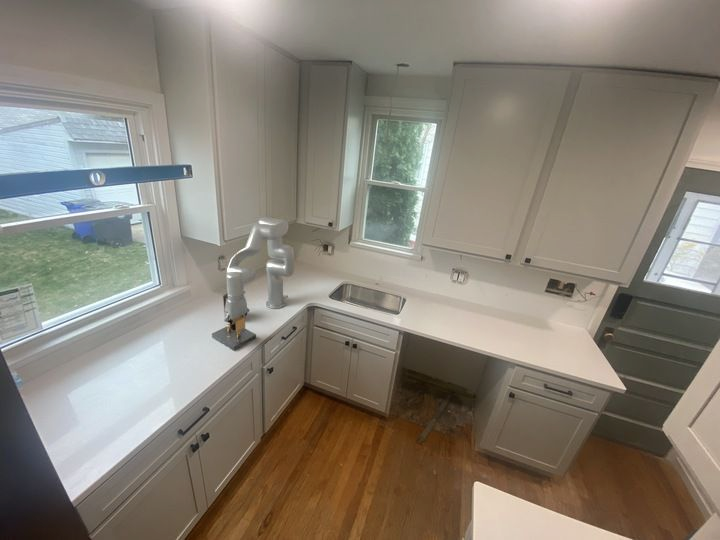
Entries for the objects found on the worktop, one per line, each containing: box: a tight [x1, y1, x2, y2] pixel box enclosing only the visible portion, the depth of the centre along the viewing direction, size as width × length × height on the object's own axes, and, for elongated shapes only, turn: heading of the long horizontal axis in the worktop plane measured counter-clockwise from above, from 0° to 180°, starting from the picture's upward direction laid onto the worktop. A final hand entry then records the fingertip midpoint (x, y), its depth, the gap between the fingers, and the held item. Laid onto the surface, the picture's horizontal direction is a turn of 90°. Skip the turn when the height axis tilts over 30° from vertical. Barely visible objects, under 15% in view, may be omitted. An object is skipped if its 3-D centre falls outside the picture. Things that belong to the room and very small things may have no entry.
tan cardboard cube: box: [234, 316, 246, 331], centre depth 151 cm, size 5×5×6 cm
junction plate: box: [211, 323, 257, 351], centre depth 156 cm, size 14×18×6 cm
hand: (238, 327), depth 152 cm, fingers closed on tan cardboard cube, 4 cm apart
